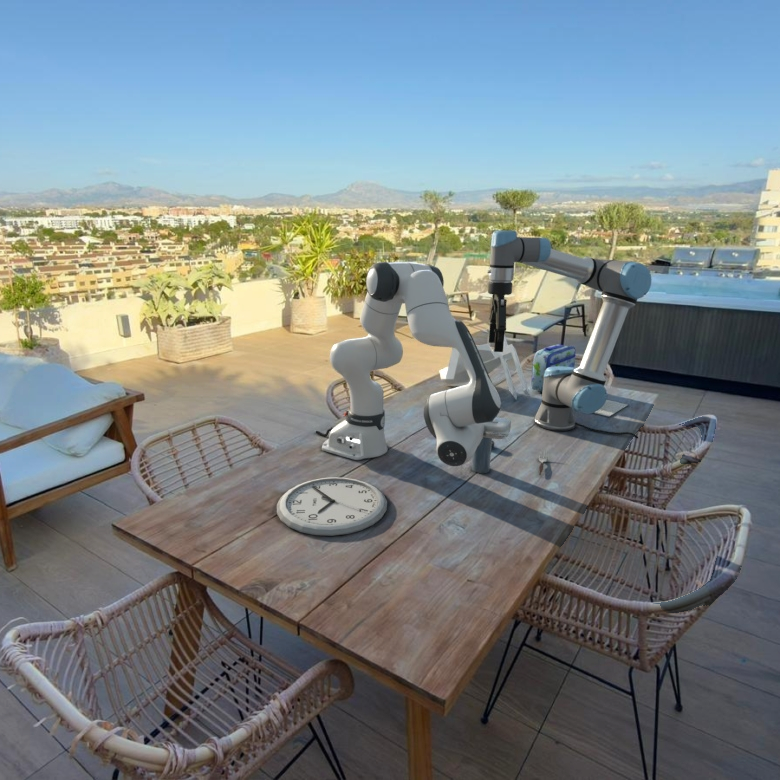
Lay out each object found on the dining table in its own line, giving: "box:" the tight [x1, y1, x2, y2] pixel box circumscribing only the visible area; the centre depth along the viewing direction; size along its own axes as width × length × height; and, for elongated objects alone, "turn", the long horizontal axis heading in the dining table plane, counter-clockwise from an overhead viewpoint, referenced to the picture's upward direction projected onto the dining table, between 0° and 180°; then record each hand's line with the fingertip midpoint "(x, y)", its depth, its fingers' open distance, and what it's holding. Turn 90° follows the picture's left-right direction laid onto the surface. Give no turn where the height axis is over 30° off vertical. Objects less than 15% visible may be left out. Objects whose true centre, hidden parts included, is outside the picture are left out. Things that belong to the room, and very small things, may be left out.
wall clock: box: [276, 476, 388, 537], centre depth 142 cm, size 30×2×30 cm
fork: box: [538, 451, 548, 475], centre depth 168 cm, size 3×16×2 cm, turn 160°
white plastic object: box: [438, 333, 531, 400], centre depth 245 cm, size 37×45×31 cm
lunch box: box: [530, 344, 577, 392], centre depth 247 cm, size 26×11×21 cm, turn 134°
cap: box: [491, 440, 495, 451], centre depth 182 cm, size 4×4×2 cm
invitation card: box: [593, 399, 629, 418], centre depth 226 cm, size 21×1×15 cm
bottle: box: [471, 437, 493, 474], centre depth 162 cm, size 6×6×23 cm
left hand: (477, 414), depth 149 cm, fingers open, 8 cm apart
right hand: (495, 347), depth 172 cm, fingers open, 13 cm apart
